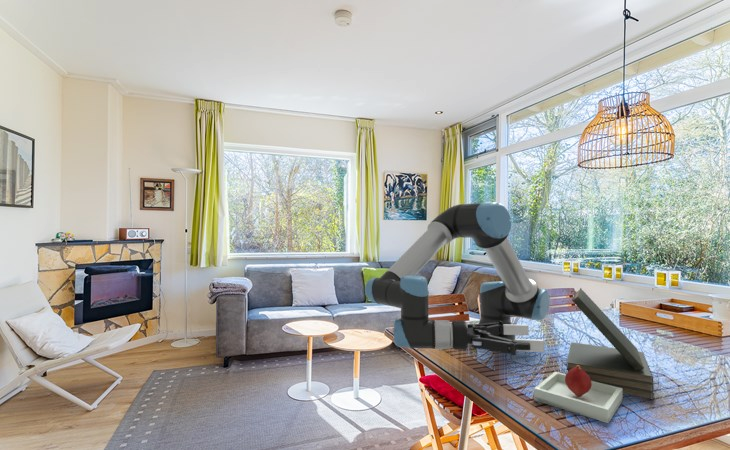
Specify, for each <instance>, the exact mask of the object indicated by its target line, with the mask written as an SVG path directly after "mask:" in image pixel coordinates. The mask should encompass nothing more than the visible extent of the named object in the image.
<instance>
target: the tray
mask: <svg viewBox="0 0 730 450" xmlns="http://www.w3.org/2000/svg"><path fill="white" fill-rule="evenodd" d="M566 374H567V373H562V372H559V371H554V372H553V373H551V374H550V375H548V377H546V378H545V379H543V380H542V381H541V382H540V383H538V384H537V385H536V386H535V387H534V388H533V400H534V401H535V402H538V403H542V404H546V405H549V406H552V407H555V408H557V409H562V410H564V411H567V412H571V413H573V414H577V415H580V416H582V417H583V416H584V417H586V418H589V419H593V420H597V421H600V422H603V423H606V424H609V423H610V421H611V420H612V418H613V417H614V415H615V414H616V412H617V410H618V409H619V407H620V406H621V404H622V403H623V400H624V393H623V388H619V387H615V386H611V385H607V384H603V383H599V382H595V381H591V383H592V386H591V389H590V390H589V391H588V392H587V393H585V394H584V395H582V396H581V397H578V396H576V395H575V394H574V393H573V392H572V391H571V390H570V389H569V388H568V387H567V385H566V383H565V376H566Z"/></svg>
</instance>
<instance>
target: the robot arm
mask: <svg viewBox="0 0 730 450" xmlns="http://www.w3.org/2000/svg"><path fill="white" fill-rule="evenodd" d="M511 230H512V221H511V215H510V212H509V210H508V209H507V208H506V206H505V205H504V204H502V203H500V202H497V201H493V202H492V201H483V202H477V203H462V204H460V203H459V204H456V205H453V206H451V207H448V208H447V209H446V210H444V211H442V212H440V213H439V215H438V216H435V218H434V219H433V220H431V222H430V223H429V224H428V225H427V229H426V231H424V233H423V234H422V235H420V237H419V238H417V240H416V241H415V242H414V243H413V244H412V245H411V246H410V247H409V248H408V249H407V250H406V251H404V253H403V254H402V255H401V256H400V257H399V258H398V259H397V260H396V261H395V262H394V263H393V264H392V265H391V266H390V268H388V269H387V270H386V271H385V272H384V274H382V275H381V276H380V277H372V278H370V279H368V280H367V282H366V284H365V286H364V294H365V296H366V298H367V300H368V301H371V302H373V303H375V304H377V305H384V306H389V307H393V308H398V309H400V318H397V319H395V320H394V321H393V322H394V323H393V342H394V345H395V347H399V348H408V349H432V350H433V349H434V350H435V349H436V350H439V351H441V352H443V350H451V348H452V349H453V350H458V351H467V349H468V344H472V348H473V349H479V350H480V349H481V350H487V351H493V352H497V353H504V354H509V355H512V356H516V355H517V352H531V353H533V352H536V353H545V341H544V339H531V338H530V339H528V338H524V339H523V338H516V336H529V335H530V333H529V331H530V330H529V325H528V324H512V321H511V320H512V319H511V316H512V317H517V318H522V319H527V320H530V321H542V320H545V318H546V317H547V315H548V314H549V313H548V312H549V310H550V303H551V297H550V292H549V291H548V290H547V289H546V288H545V289H544V288H539V286H538V284H537V283H536V281H534V280H533V279H531V278H529V277H528V274H527V273H526V271H525V268H524V266H523V264H522V263H521V262H520V259H519V257H518V256H517V254H516V252H515V250H514V247H513V246H512V244H511V242H510V240H509V238H508V237H509V236H510V233H511V232H510V231H511ZM459 238H465V239H466V238H471V239H472V240H473V241H474V243H475V245H476V247H478V248H480V249H483V250H484V251H485V253H486V255H487V257H488V259H489V260H490V261H491V264H492V265H493V268H494V269H495V270H496V273H497V275H498V276H499V278H500V280H501V281H500V280H499V281H489V282H488V281H487V282H486V281H485V282H483V283H482V282H481V285H480V287H479V302H480V303H479V304H480V306H479V307H480V308H479V309H480V311H479V312H480V314H479V316H480V319H479V321H478V323H475V324H473V323H472V324H471V323H468V324H467V321H465V320H452V321H450V320H449V319H448V320H447V319H429V293H430V292H429V288H428V287H429V286H428V284H429V283H428V280H427V278H426V277H425V276H423V275H418V274H419V272H420V271H421V270H422V269H423V268H424V267H425V266H426V265H427V264H428V262H429V261H430V260H432V258H433V257H434V256H435V255H436V254H437V253H438V252H439V250H441V248H443V247H444V246H447V245H449V244H450V243H451V242H452V241H453V240H455V239H459Z"/></svg>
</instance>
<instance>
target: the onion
mask: <svg viewBox="0 0 730 450" xmlns="http://www.w3.org/2000/svg"><path fill="white" fill-rule="evenodd" d="M567 372H568V373H567ZM567 372H566V373H565V374H566V376H565V383H566V385H567V387H568V388H569V389H570V390H571V391H572V392H573V393H574V394H575V395H576V396H578V397H581V396H582V395H584V394H585V393H587V392H588V391H589V390H590V389H591V386H592V383H591V379H590V377H589V376H588V374H587V373H586V372H585V371H584V370H582V369H581V368H580V365H577V366H576V367H574V368H572V369H570V370H569V371H568V370H567Z"/></svg>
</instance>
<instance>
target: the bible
mask: <svg viewBox="0 0 730 450" xmlns="http://www.w3.org/2000/svg"><path fill="white" fill-rule="evenodd" d="M571 301H572V302H573V303H574V304H575V305H576V306H577V308H578V309H579V310H580V311H581V312H582V313H583V314H584V315H585V317H587V319H588V320H589V321H590V322H591V323H592V324H593V325H594V326H595V327H596V329H597V330H598V331H599V332H600V334H602V335H603V336H604V337H605V339H606V340H607V341H608V342H609V343H610V345H612V347H609V346H601V345H595V344H587V343H581V342H575V341H574V342H573V341H572V342H570V344H569V345H570V346H569V350H568V354H567V357H566V358H567V359H566V364H567V365H566V371H567V372H566V374H567V373H568V371H569V370H570V369H572V368H574V367H576V366H577V365H580V368H581V369H582V370H584V371H585V372H586V373H587V374H588V376H589V377H590V379H591V381H595V382H599V383H603V384H607V385H611V386H615V387H619V388H623V395H624V394H625V395H629V396H634V397H639V398H646V399H650V400H655V399H654V398H655V397H654V396H655V395H654V376H653V373H652V371H651V369H650V366H649V364H648V361H647V358H646V356H645V354H644V352H643V351H639V350H638V348H637V347H636V345H634V343H633V342H631V340H630V339H629V338H628V337H627V336H626V335H625V333H623V332H622V331H621V330H620V328H619V327H617V325H616V324H615V323H614V322H613V321H612V320H611V319H610V318H609V317H608V316H607V315H606V313H604V311H603V310H602V309H601V308H600V307H599V306H598V305H597V304H596V303H595V302H594V300H592V298H591V297H590V296H589V295H588V294H587V293H586V292H585V291H584V290H583V289H582V287H580V288H579V290H578V291H574V295H573V296H572V300H571Z"/></svg>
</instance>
